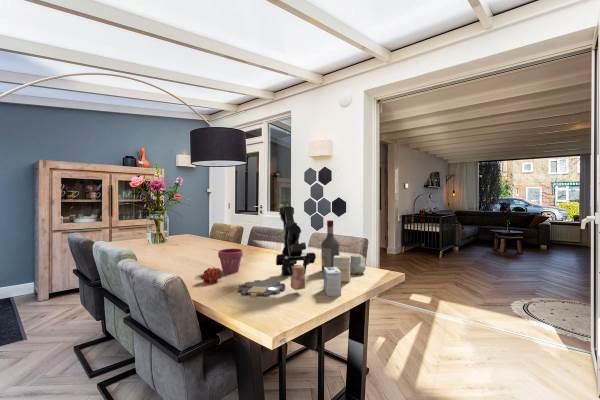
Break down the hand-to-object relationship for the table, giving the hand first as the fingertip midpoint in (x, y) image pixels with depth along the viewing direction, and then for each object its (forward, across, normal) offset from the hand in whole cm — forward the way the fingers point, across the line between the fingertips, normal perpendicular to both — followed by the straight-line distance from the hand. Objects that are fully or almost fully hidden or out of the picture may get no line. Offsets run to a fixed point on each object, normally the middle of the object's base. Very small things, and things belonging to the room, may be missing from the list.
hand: (298, 274), depth 143 cm
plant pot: (-28, -31, +42) cm, 59 cm away
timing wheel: (-2, -16, +15) cm, 22 cm away
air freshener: (-14, +40, +27) cm, 50 cm away
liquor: (-18, +26, +32) cm, 45 cm away
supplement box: (-4, +26, +17) cm, 32 cm away
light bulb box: (+7, +16, +6) cm, 19 cm away
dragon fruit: (-14, -41, +28) cm, 51 cm away
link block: (+4, 0, +6) cm, 7 cm away
